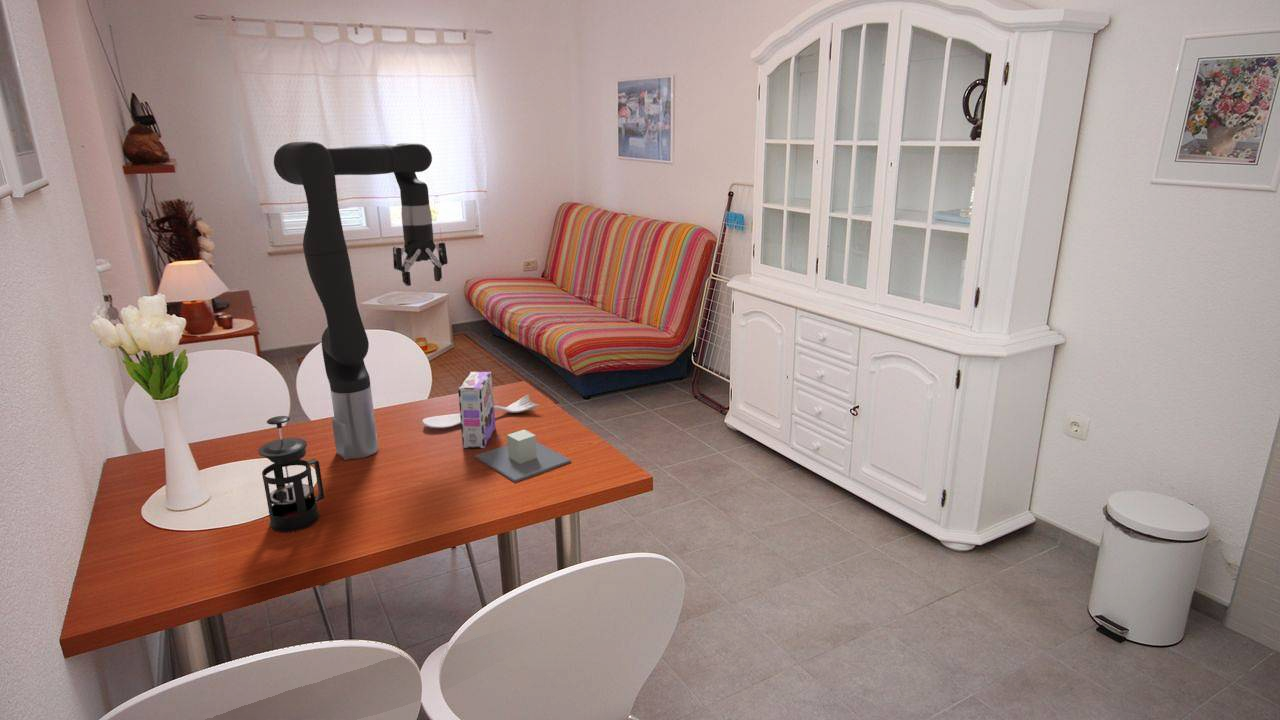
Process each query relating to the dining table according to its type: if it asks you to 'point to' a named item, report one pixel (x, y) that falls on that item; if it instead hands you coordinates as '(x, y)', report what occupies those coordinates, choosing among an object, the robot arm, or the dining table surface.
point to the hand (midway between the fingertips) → (422, 283)
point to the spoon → (455, 419)
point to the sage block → (522, 446)
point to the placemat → (524, 470)
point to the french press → (295, 494)
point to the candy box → (476, 409)
